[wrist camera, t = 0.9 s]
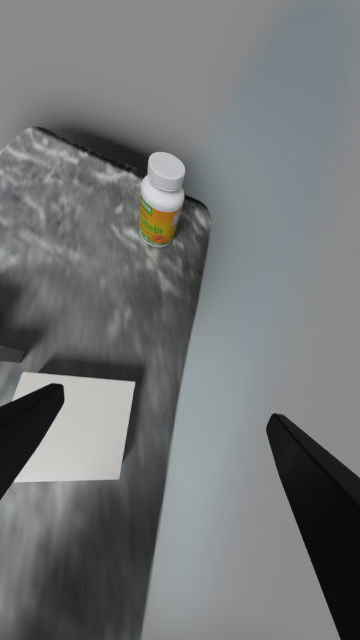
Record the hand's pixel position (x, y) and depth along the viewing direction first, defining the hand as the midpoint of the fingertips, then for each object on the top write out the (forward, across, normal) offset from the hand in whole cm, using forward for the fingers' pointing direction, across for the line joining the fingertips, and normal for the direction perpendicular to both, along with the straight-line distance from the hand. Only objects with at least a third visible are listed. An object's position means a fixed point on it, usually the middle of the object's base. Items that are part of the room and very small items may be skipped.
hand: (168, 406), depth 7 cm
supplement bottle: (+24, +5, -9) cm, 27 cm away
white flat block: (+7, +8, +11) cm, 16 cm away
